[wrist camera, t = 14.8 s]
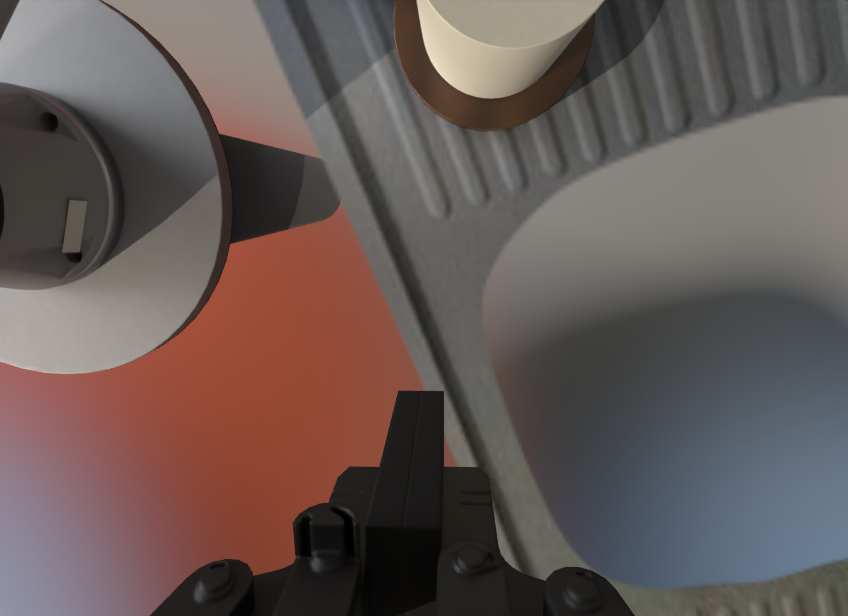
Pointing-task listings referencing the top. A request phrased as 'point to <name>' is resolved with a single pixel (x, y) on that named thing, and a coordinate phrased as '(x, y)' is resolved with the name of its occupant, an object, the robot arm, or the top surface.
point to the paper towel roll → (499, 40)
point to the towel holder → (474, 109)
